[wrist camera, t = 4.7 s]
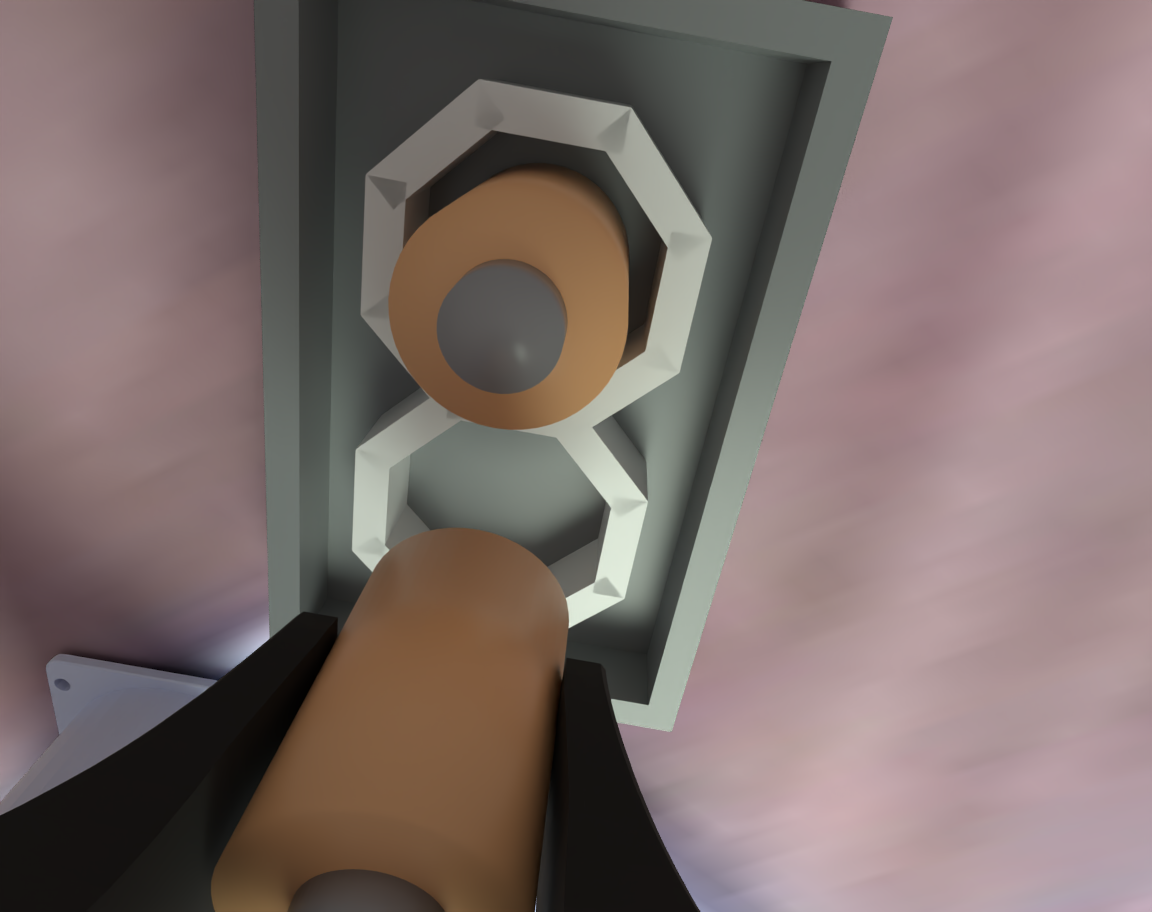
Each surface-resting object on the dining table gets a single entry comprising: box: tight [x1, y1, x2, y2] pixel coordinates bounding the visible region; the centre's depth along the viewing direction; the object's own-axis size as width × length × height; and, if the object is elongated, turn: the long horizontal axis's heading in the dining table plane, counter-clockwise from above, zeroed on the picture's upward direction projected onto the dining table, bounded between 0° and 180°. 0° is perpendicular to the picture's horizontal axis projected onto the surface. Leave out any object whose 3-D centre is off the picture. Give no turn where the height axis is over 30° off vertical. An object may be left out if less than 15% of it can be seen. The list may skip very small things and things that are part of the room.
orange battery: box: [211, 528, 569, 912], centre depth 12 cm, size 4×4×7 cm
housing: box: [254, 0, 893, 732], centre depth 16 cm, size 17×11×7 cm, turn 171°
